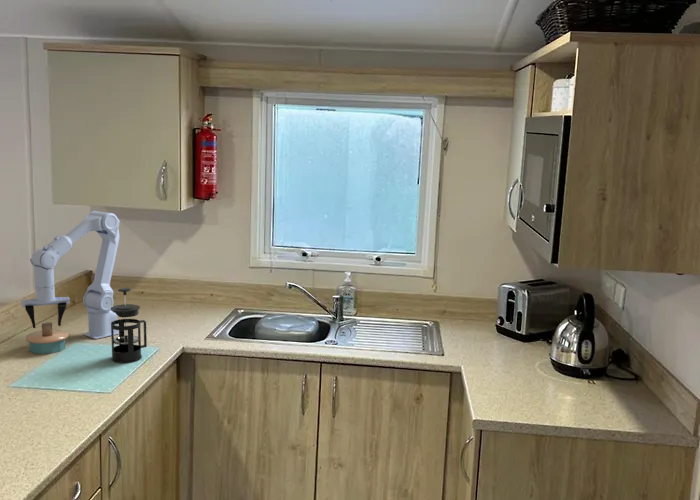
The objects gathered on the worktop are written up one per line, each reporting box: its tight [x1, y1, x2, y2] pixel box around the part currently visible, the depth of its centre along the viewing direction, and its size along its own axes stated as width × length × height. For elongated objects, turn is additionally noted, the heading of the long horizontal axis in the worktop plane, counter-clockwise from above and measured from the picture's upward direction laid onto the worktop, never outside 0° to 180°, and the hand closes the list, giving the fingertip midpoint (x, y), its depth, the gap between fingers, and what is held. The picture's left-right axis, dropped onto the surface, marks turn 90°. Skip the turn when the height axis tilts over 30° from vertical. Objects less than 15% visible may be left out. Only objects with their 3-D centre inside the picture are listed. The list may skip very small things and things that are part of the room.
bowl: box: [28, 339, 66, 355], centre depth 232 cm, size 11×11×4 cm
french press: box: [110, 287, 148, 364], centre depth 223 cm, size 12×9×23 cm
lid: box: [25, 321, 70, 343], centre depth 231 cm, size 13×13×5 cm
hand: (46, 326), depth 231 cm, fingers open, 7 cm apart
